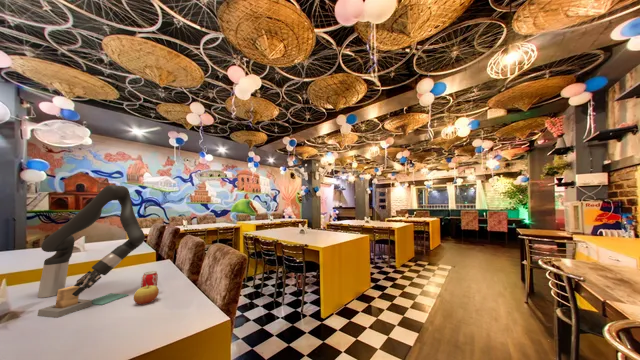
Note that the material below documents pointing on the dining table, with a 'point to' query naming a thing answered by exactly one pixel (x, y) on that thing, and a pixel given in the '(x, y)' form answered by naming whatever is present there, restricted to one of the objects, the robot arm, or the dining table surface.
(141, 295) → the apple
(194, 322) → the dining table surface
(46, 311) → the frame
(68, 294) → the oak block
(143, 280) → the soda can
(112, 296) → the teal mat
